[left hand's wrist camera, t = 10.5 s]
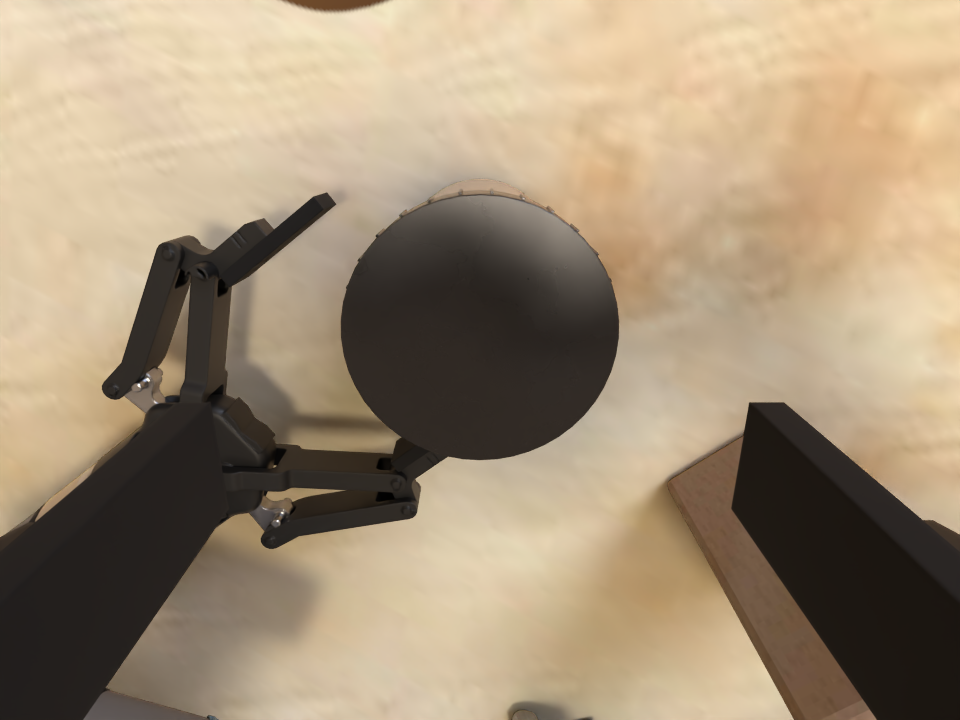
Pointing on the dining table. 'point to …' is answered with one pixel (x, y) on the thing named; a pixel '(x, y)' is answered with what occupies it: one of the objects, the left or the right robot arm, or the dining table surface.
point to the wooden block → (762, 596)
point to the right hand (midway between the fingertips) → (410, 303)
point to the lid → (479, 325)
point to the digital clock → (524, 715)
